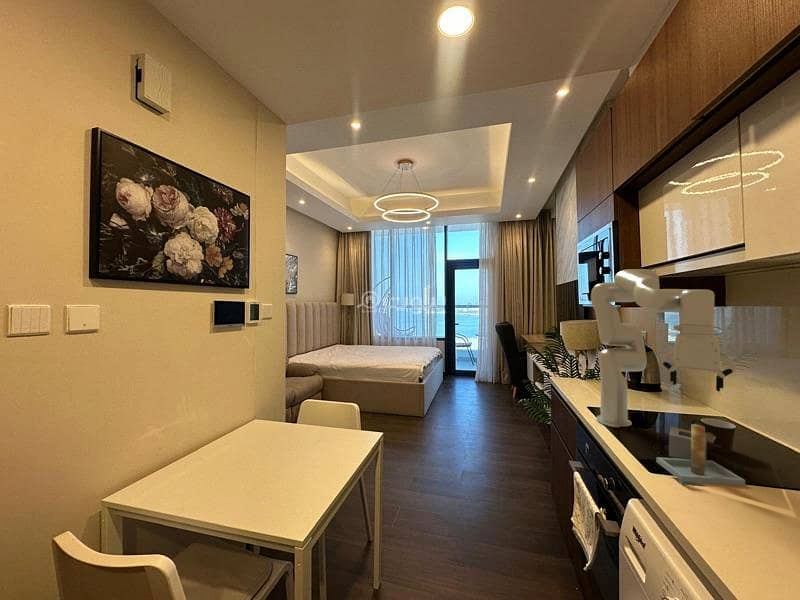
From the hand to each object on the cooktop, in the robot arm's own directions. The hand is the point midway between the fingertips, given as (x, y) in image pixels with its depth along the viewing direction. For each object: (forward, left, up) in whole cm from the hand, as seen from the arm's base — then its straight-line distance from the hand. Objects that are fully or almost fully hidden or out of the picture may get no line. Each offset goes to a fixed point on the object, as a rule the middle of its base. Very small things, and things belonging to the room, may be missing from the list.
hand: (695, 387), depth 97 cm
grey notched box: (-10, +5, -26) cm, 29 cm away
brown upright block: (+2, +1, -25) cm, 26 cm away
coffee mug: (-18, +19, -27) cm, 37 cm away
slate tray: (+1, 0, -26) cm, 26 cm away
